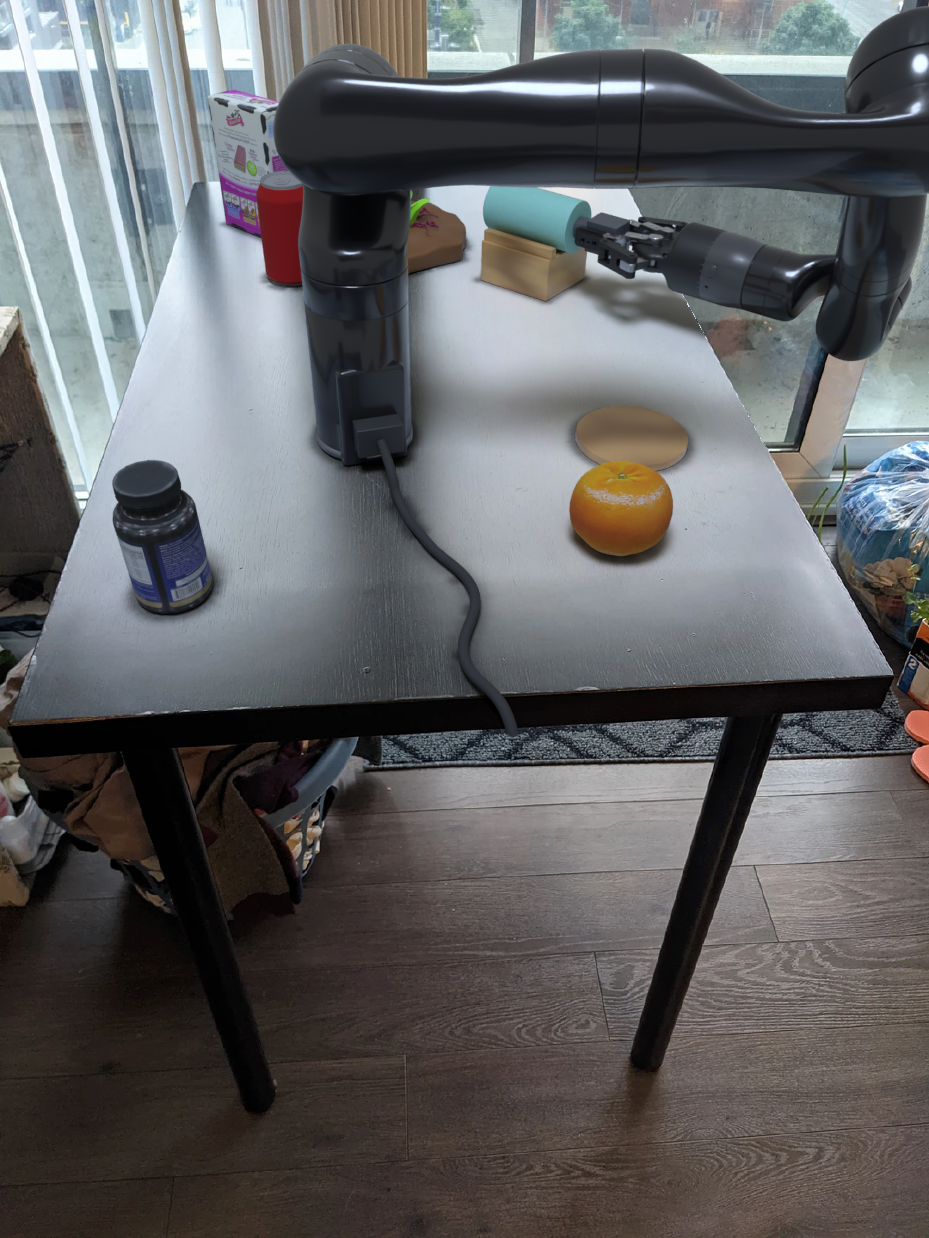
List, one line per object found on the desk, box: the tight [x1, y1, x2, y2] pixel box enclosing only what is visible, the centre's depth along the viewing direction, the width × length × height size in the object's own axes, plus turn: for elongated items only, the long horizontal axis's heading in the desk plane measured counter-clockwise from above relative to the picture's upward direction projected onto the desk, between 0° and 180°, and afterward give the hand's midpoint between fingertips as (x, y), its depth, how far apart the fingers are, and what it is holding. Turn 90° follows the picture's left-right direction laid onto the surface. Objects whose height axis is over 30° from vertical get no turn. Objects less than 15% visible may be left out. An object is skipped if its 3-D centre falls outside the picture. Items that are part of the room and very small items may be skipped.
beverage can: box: [256, 171, 303, 287], centre depth 116 cm, size 7×7×12 cm
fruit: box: [568, 461, 674, 557], centre depth 80 cm, size 8×8×8 cm
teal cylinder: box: [482, 186, 631, 256], centre depth 115 cm, size 18×6×6 cm, turn 53°
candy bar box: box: [206, 89, 289, 238], centre depth 126 cm, size 11×5×16 cm, turn 49°
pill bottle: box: [111, 459, 214, 614], centre depth 73 cm, size 6×6×11 cm
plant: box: [408, 190, 467, 275], centre depth 125 cm, size 20×20×11 cm
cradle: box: [480, 227, 588, 302], centre depth 119 cm, size 10×9×6 cm
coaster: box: [574, 404, 689, 472], centre depth 94 cm, size 11×11×1 cm
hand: (587, 229), depth 113 cm, fingers open, 3 cm apart
